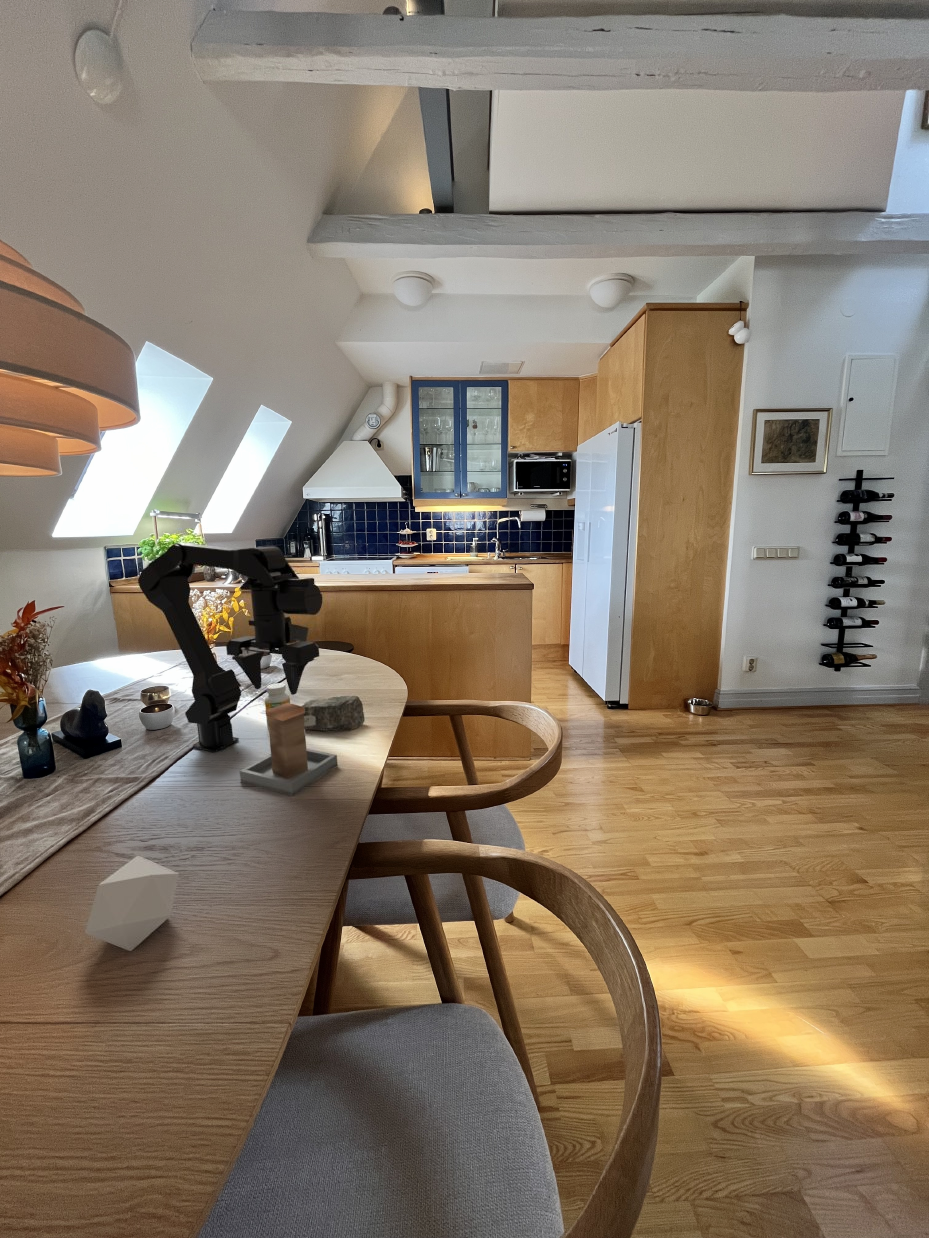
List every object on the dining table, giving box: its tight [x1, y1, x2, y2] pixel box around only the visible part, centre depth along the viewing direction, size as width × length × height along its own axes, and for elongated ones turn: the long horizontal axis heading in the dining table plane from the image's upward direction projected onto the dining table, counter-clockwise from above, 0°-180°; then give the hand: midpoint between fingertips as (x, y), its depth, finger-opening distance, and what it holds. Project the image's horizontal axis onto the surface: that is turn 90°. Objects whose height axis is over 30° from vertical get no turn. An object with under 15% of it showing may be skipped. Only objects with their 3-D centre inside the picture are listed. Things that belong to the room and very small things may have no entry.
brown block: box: [264, 702, 308, 779], centre depth 94 cm, size 5×5×12 cm
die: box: [84, 855, 180, 952], centre depth 58 cm, size 8×9×10 cm
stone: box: [301, 695, 366, 731], centre depth 116 cm, size 14×7×10 cm, turn 98°
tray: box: [239, 748, 338, 797], centre depth 95 cm, size 12×12×2 cm
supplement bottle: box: [264, 682, 291, 729], centre depth 118 cm, size 5×5×10 cm
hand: (275, 691), depth 102 cm, fingers open, 9 cm apart
